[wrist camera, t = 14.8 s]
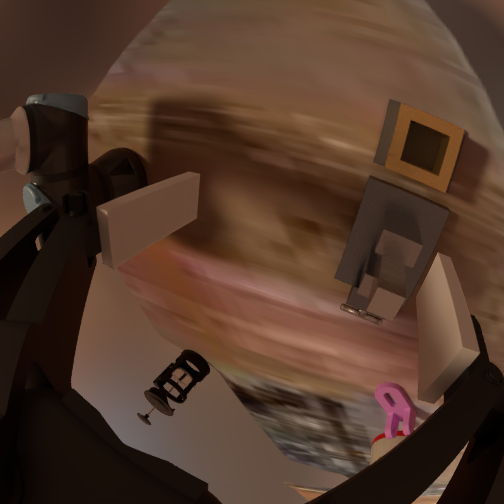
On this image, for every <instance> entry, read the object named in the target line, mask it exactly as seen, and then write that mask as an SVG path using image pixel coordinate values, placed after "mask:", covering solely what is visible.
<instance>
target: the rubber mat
mask: <svg viewBox="0 0 504 504" xmlns="http://www.w3.org/2000/svg"><path fill="white" fill-rule="evenodd" d="M400 105H401V103H400V102H397V101H394V100H391V99H390V100H389V105H388V109H387V113H386V117H385V121H384V126H383V129H382V133H381V137H380V141H379V145H378V148H377V152H376V156H375V159H374V162H375V163H377V164H380V165H383V166H385V161H386V157H387V154H388V150H389V147H390V143H391V139H392V135H393V131H394V127H395V123H396V119H397V115H398V111H399V107H400ZM410 107H411V106H410ZM465 133H466V130H464V134H463V138H462V141H461V145H460V149H459V152H458V156H457V159H456V162H455V166H454V169H453V172H452V175H451V178H450V181H449V184H448V187H447V190H446V192H448V189H449V186H450V183H451V180H452V177H453V174H454V171H455V168H456V165H457V161H458V158H459V155H460V151H461V148H462V144H463V140H464V137H465ZM441 139H442V135H441V134H439V133H437V132H434V131H432V130H430V129H427V128H425V127H422V126H420V125H417V124H415V123H412V122H410V125H409V129H408V133H407V137H406V140H405V144H404V148H403V151H402V155H401V157H402V158H405V159H407V160H410V161H412V162H415V163H417V164H420V165H422V166H424V167H427V168H429V169H431V170H433V167H434V164H435V160H436V157H437V153H438V150H439V146H440V143H441Z"/></svg>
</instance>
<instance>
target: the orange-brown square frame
mask: <svg viewBox="0 0 504 504" xmlns="http://www.w3.org/2000/svg"><path fill="white" fill-rule="evenodd" d="M410 122H412V123H415V124H417V125H420V126H422V127H425V128H427V129H430V130H432V131H434V132H437V133H439V134H441V135H442V139H441V143H440V146H439V150H438V153H437V157H436V160H435V164H434V167H433V170H431V169H429V168H427V167H424V166H422V165H420V164H417V163H415V162H412V161H410V160H407V159H405V158H402V157H401V155H402V151H403V148H404V144H405V140H406V137H407V133H408V129H409V125H410ZM463 134H464V129H462V128H459V127H457V126H455V125H453V124H451V123H449V122H447V121H444V120H442V119H440V118H438V117H435V116H433V115H431V114H428V113H426V112H423V111H421V110H418V109H416V108H413V107H410V106H408V105H405V104H402V103H401V105H400V107H399V111H398V115H397V119H396V123H395V127H394V131H393V135H392V139H391V143H390V147H389V150H388V154H387V157H386V161H385V167H384V168H387V169H390V170H392V171H395V172H397V173H400V174H402V175H405V176H407V177H410V178H412V179H415V180H417V181H419V182H422V183H424V184H426V185H429V186H431V187H433V188H435V189H437V190H440V191H442V192H444V193H445V192H446V190H447V187H448V184H449V181H450V178H451V175H452V172H453V169H454V166H455V162H456V159H457V156H458V152H459V149H460V145H461V141H462V138H463Z"/></svg>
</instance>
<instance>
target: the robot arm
mask: <svg viewBox="0 0 504 504" xmlns="http://www.w3.org/2000/svg"><path fill="white" fill-rule="evenodd" d="M26 104H27V105H24V106H20V107H18V108H17V109H16V110H15V111H14V113H13V114H12V116H11V117H10V118H8V119H4V120H0V174H1V173H3V172H6V171H9V170H12V169H15V170H16V171H18V172H19V173H21V174H22V175H24V174H27V173H30V177H31V183H28V184H27V185H26V186H25V187H24V189H23V199H24V204H25V208H26V211H27V213H28V215H26V216H25V217H24V218H23V219H21V220H20V221H19V222H18V223H17V224H16V225H14V226H13V227H12V228H11V229H10V230H8V231H7V232H6V233H5V234H4V235H3V236H2V237H0V504H222V503H221V502H220V501H219V500H218V499H217V498H216V497H215V496H214V495H213V494H212V493H210V492H209V491H208V483H206V482H204V481H202V480H200V479H198V478H196V477H195V476H193V475H191V474H189V473H187V472H185V471H184V470H182V469H180V468H178V467H177V466H175V465H173V464H172V463H170V462H168V461H166V460H162V459H160V458H157V457H154V456H152V455H149V454H146V453H144V452H141V451H139V450H136V449H134V448H132V447H129V446H127V445H125V444H124V443H122V441H121V440H120V439H119V438H118V436H117V435H116V434H115V433H114V431H113V430H112V429H111V427H110V426H109V425H108V424H107V422H106V421H105V419H104V418H103V417H102V415H101V414H100V412H99V411H98V410H97V409H96V408H94V407H93V406H92V405H91V404H90V403H88V402H87V401H86V400H85V399H84V398H83V397H82V396H81V395H80V394H79V393H78V392H77V391H76V390H74V389H72V387H71V376H72V369H73V362H74V356H75V351H76V345H77V340H78V335H79V330H80V325H81V320H82V316H83V312H84V307H85V303H86V299H87V295H88V291H89V288H90V284H91V280H92V277H93V273H94V270H95V266H96V263H97V259H96V255H97V254H98V253H100V252H101V253H102V259H103V264H105V265H107V266H109V267H110V268H112V269H115V268H117V267H118V266H120V265H121V264H123V263H124V262H126V261H128V260H129V259H131V258H132V257H134V256H135V255H137V254H139V253H140V252H142V251H143V250H145V249H147V248H148V247H150V246H151V245H153V244H155V243H156V242H158V241H160V240H161V239H163V238H165V237H166V236H168V235H170V234H171V233H173V232H175V231H176V230H178V229H180V228H181V227H183V226H185V225H186V224H188V223H190V222H191V221H193V220H195V219H197V209H198V196H199V184H200V174H198V173H194V172H190V171H189V172H186V173H183V174H180V175H177V176H174V177H171V178H169V179H166V180H163V181H160V182H158V183H155V184H152V185H149V186H147V180H146V175H145V171H144V168H143V166H142V164H141V162H140V160H139V158H138V157H137V156H136V155H135V154H134V153H133V152H132V151H131V150H129V149H127V148H116V149H112V150H110V151H108V152H106V153H105V154H103V155H102V156H100V157H99V158H98V159H96V160H95V161H93V162H92V163H91V164H88V120H89V117H88V101H87V99H86V97H84V96H83V95H80V94H70V93H55V94H54V93H53V94H39V95H33V96H30V97H29V98H28V100H27V102H26ZM37 237H39V241H40V245H41V249H40V250H39V251H38V250H37V247H36V243H35V240H36V238H37ZM416 308H417V323H418V348H419V377H418V400H422V401H426V402H429V403H433V404H434V403H435V402H436V401H437V400H438V399H439V398H440V397H441V396H442V395H443V394H444V403H443V404H442V405H441V406H440V407H439V408H438V409H437V410H436V411H435V412H434V413H433V414H432V415H431V416H429V417H428V418H427V420H426V421H425V422H423V423H422V424H421V425H420V426H419V427H418V428H417V429H416V430H414V431H413V432H412V433H411V434H410V435H409V436H407V437H406V438H405V439H404V440H403V441H401V442H400V443H399V444H398V445H396V446H395V447H394V448H393V449H391V450H390V451H389V452H387V453H386V454H385V455H383V456H382V457H381V458H379V459H378V460H376V461H375V462H374V463H372V464H371V465H369V466H368V467H366V468H365V469H364V470H362V471H361V472H359V473H358V474H356V475H354V476H353V477H351V478H350V479H348V480H346V481H345V482H343V483H342V484H340V485H338V486H337V487H335V488H333V489H331V490H330V491H328V492H326V493H324V494H322V495H321V496H319V497H317V498H315V499H313V500H311V501H309V502H307V503H305V504H411V503H413V502H414V501H415V500H416V499H417V498H418V497H419V496H420V495H421V494H422V493H423V492H424V491H425V490H426V489H427V488H428V487H429V486H430V485H431V484H432V483H433V482H434V481H435V480H436V479H437V478H438V477H439V476H440V475H441V474H442V473H443V471H444V470H445V469H446V468H447V467H448V466H449V465H450V463H451V462H452V461H453V460H454V459H455V458H456V456H457V455H458V454H459V453H460V451H461V450H462V449H463V448H464V446H465V445H466V444H467V443H468V441H469V443H468V445H467V447H466V449H465V452H464V454H463V456H462V458H461V460H460V462H459V464H458V466H457V468H456V470H455V472H454V474H453V476H452V478H451V480H450V481H449V483H448V485H447V487H446V489H445V490H444V492H443V494H442V495H441V497H440V499H439V500H438V502H437V504H504V377H503V374H502V372H501V371H500V370H499V368H498V367H497V366H496V365H494V364H493V363H491V362H489V357H488V353H487V349H486V345H485V342H484V337H483V335H482V330H481V327H480V324H479V323H478V321H477V319H476V318H475V316H474V315H471V314H470V312H469V309H468V306H467V302H466V299H465V296H464V293H463V290H462V287H461V284H460V282H459V279H458V276H457V273H456V271H455V268H454V265H453V263H452V260H451V258H450V257H448V256H446V255H443V254H441V253H439V252H438V253H437V255H436V257H435V260H434V262H433V264H432V266H431V268H430V270H429V272H428V274H427V276H426V278H425V280H424V282H423V284H422V286H421V288H420V290H419V292H418V294H417V295H416Z"/></svg>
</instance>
